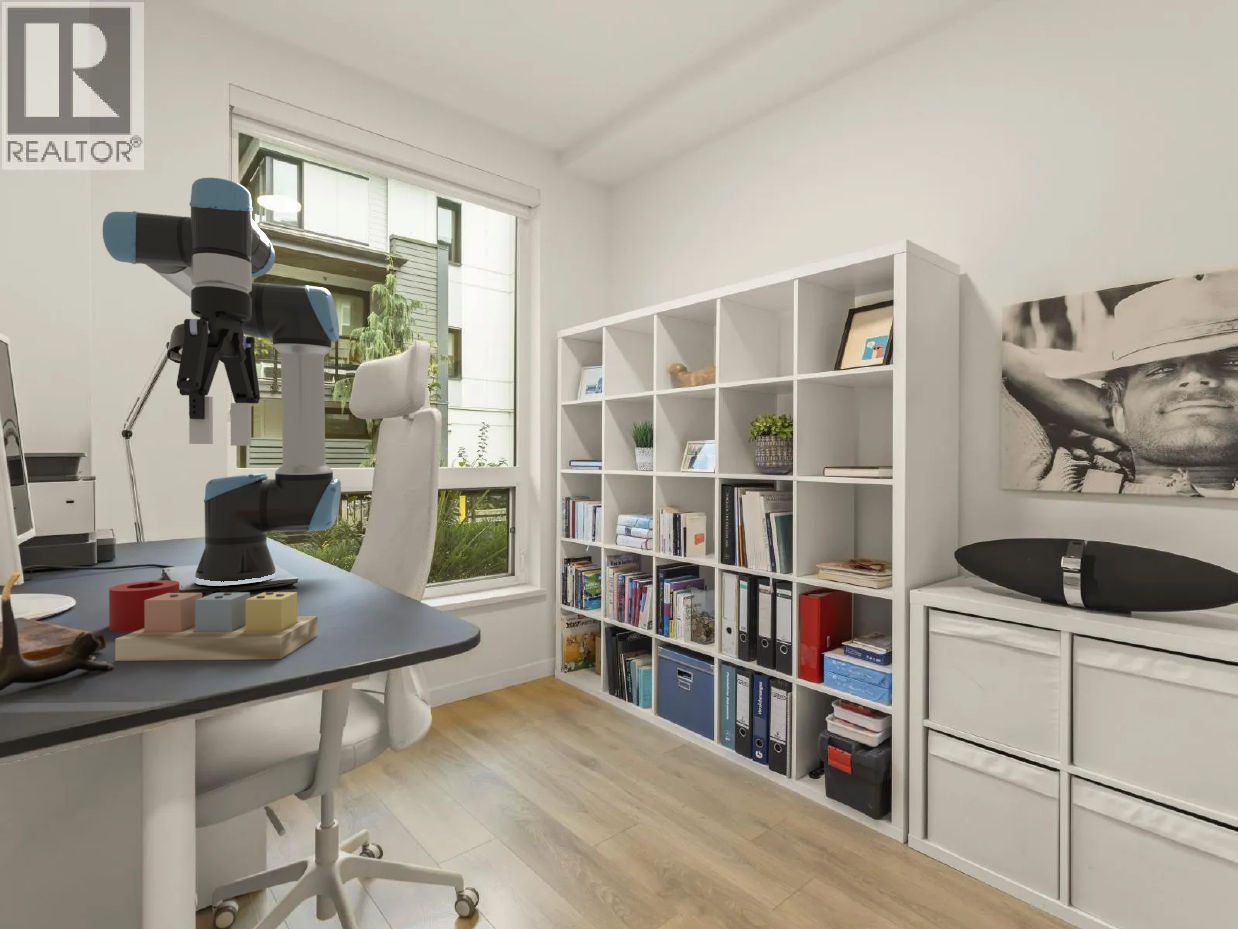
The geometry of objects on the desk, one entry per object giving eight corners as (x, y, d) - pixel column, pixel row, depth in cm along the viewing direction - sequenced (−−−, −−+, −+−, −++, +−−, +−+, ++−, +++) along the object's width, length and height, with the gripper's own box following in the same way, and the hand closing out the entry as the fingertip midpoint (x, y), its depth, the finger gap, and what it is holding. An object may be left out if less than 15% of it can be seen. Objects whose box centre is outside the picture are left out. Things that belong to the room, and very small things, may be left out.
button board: (172, 636, 100) (172, 617, 100) (317, 635, 101) (317, 616, 101) (115, 660, 88) (115, 638, 88) (280, 659, 89) (280, 637, 89)
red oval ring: (168, 630, 104) (167, 589, 104) (98, 634, 102) (98, 592, 102) (202, 606, 122) (202, 571, 122) (143, 609, 119) (143, 573, 119)
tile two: (215, 626, 97) (215, 591, 97) (249, 625, 97) (249, 591, 97) (195, 635, 92) (195, 598, 92) (231, 634, 92) (231, 598, 92)
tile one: (167, 626, 96) (167, 591, 96) (202, 626, 97) (202, 591, 96) (144, 635, 91) (144, 598, 91) (180, 635, 92) (180, 598, 91)
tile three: (263, 625, 97) (263, 591, 97) (297, 625, 97) (297, 590, 97) (245, 634, 92) (245, 598, 92) (281, 634, 92) (281, 598, 92)
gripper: (237, 308, 105) (237, 446, 105) (142, 267, 83) (142, 442, 83) (284, 308, 105) (284, 446, 105) (202, 268, 83) (202, 442, 83)
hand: (222, 444), depth 94 cm, fingers open, 9 cm apart
